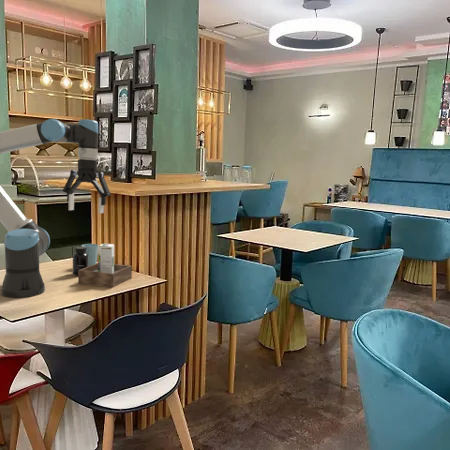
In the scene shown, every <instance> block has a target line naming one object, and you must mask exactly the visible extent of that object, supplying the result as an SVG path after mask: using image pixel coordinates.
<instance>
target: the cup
mask: <svg viewBox="0 0 450 450" xmlns="http://www.w3.org/2000/svg"><path fill="white" fill-rule="evenodd" d="M81 247H86V251H87V252H86V253H87V254H88V255H89V266H91V265H94V264H97V263H98V247H99V244H97V243H96V244H95V243H84V244H82V245H81Z"/></svg>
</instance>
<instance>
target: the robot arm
mask: <svg viewBox="0 0 450 450" xmlns="http://www.w3.org/2000/svg"><path fill="white" fill-rule="evenodd" d="M49 143H68V144H69V143H70V144H77V147H78V148H77V157H78V159H77V170H76V169H71V170H70V173H69V177H68V178H67V180H66V183H65V184H64V187H63V189H62V192H63V193H65V194H66V201H67V202H68V209H67V210H68V211H75V194H74V192H75V191H76V190H77V189H78V187H79V186H80V185H81V184H82V183H87V184H88V183H89V184H92V185H93V187H94V188H95V190H96V191H97V193H98V195H99V196H100V197H99V196H98V214H104V211H105V206H106V205H107V197H109V196H112V194H111V192H110V189H109V186H108V184H107V182H106V179H105V172H103V171H101V172H98V156H99V155H98V149H99V148H98V147H99V146H98V145H99V123H98V121H97V120H94V119H92V120H91V119H83V118H82V119H81V118H80V119H79V120H78V123H66V122H62V121H60V120H59V119H56V118H52V119H46V120H44V121H43V122H39V123H35V124H30V125H26V126H25V125H24V126H21V127H17V128H12V129H8V130H3V131H0V155H1V154H5V153H6V154H7V153H10V152H15V151H20V150H22V149H26V148H30V147H35V146H36V147H37V146H41V145H43V144H44V145H45V144H49ZM76 177H77V178H76ZM97 178H98V179H97ZM98 180H99V181H98ZM0 223H1V224H2V225H3V227H4V228H5V229H6V230H7V232H6V233H5V234H4V240H3V241H4V242H3V244H4V245H3V246H4V257H5V258H4V261H5V274H4V278H3V281H2V285H1V287H0V289H1V291H0V292H1V296H4V297H7V298H8V297H9V298H27V297H33V296H37V295H41V294H43V293H44V292H45V291H46V289H45V288H46V287H45V286H46V285H45V283H44V281H43V277H42V274H41V272H40V257H41V256H43V254H45V253H46V252H47V251H48V248H49V247H50V244H51V239H50V235H49V233H48V232H47V231H46V230H45V229H44V228H42V227H40V226H39V225H38V224H37V223H36V222H35V220H34V219H31V218H28V217H26V216H25V214H24V213H23V212H22V211H21V209H20V208H19V207H18V206H17V204H16V203H15V202H14V200H13V199H12V198H11V197H10V195H8V193H7V192H6V190H5V189H4V188H3V187H2V185H0Z"/></svg>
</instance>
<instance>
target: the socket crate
mask: <svg viewBox="0 0 450 450" xmlns="http://www.w3.org/2000/svg"><path fill="white" fill-rule="evenodd" d="M132 270H133V267H132V265H129V264H128V265H125V264H118V263H117V264H116V263H114V273H103V272H98V262H97V263H96V264H94V265H91V266H89V267H86V268H83V269H81V270H78V275H77V278H78V282H77V283H78V284H80V285H87V286H88V285H89V286H90V285H91V286H97V287H98V286H99V287H105V288H115V287H117V286H119V285H121V284H122V283H123V284H124V283H125V282H127V281H128V280H129V281H130V280H131V279H132V278H133V277H132V276H133V273H132Z"/></svg>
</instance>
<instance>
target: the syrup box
mask: <svg viewBox="0 0 450 450" xmlns="http://www.w3.org/2000/svg"><path fill="white" fill-rule="evenodd" d="M97 263H98V272H103V273H114V264H115V244H113V243H101V244H100V245H98V254H97Z"/></svg>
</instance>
